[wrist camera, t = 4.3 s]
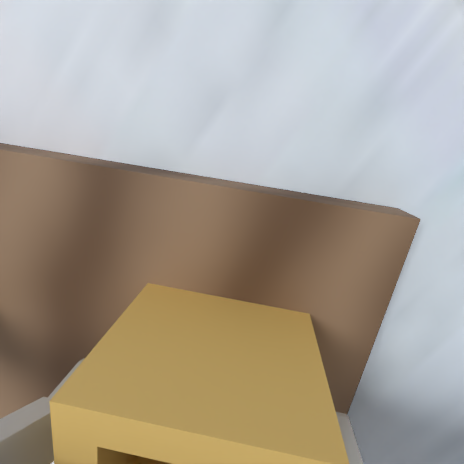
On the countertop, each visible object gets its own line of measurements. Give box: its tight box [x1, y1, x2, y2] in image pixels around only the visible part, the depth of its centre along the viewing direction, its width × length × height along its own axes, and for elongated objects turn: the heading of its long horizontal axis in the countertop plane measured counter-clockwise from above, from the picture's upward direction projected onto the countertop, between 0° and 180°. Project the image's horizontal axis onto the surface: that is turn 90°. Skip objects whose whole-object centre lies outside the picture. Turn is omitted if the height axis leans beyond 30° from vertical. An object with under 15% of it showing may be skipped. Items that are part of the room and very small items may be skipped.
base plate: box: [0, 143, 420, 419], centre depth 9 cm, size 22×14×8 cm, turn 82°
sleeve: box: [49, 283, 349, 464], centre depth 9 cm, size 6×6×5 cm
